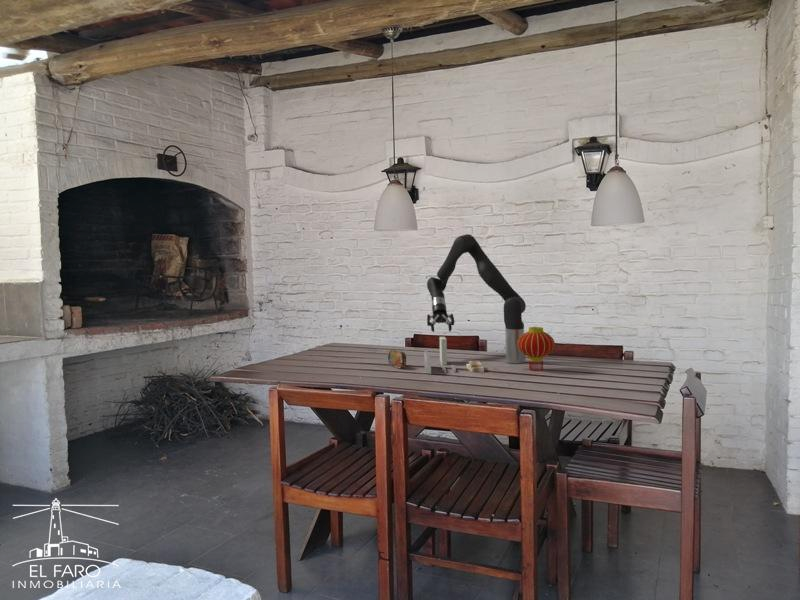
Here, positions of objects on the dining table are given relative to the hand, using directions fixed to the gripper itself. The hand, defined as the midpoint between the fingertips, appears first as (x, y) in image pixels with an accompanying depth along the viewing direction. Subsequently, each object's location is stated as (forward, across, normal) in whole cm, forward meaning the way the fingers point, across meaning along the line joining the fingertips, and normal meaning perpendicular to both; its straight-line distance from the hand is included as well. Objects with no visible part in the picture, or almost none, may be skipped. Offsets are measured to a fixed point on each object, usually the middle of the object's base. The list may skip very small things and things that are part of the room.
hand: (441, 330), depth 317 cm
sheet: (+16, 0, +6) cm, 17 cm away
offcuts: (+31, +13, -8) cm, 34 cm away
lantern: (+34, +41, -12) cm, 54 cm away
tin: (+22, -24, +1) cm, 32 cm away
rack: (+30, -4, -8) cm, 31 cm away
